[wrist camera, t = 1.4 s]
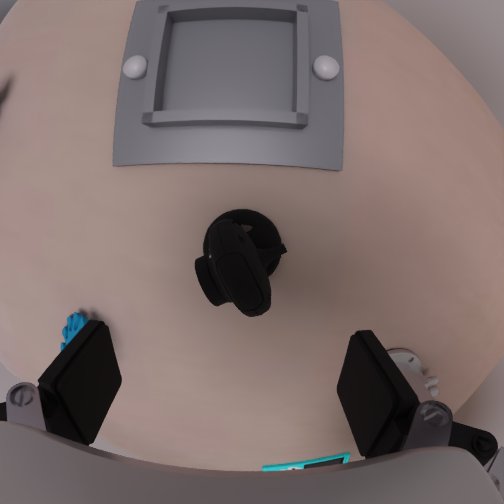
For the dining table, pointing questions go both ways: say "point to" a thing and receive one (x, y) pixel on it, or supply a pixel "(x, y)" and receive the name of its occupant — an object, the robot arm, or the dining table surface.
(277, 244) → the webcam
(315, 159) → the housing
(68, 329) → the gear
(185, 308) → the dining table surface
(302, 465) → the handheld game console
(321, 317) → the dining table surface
